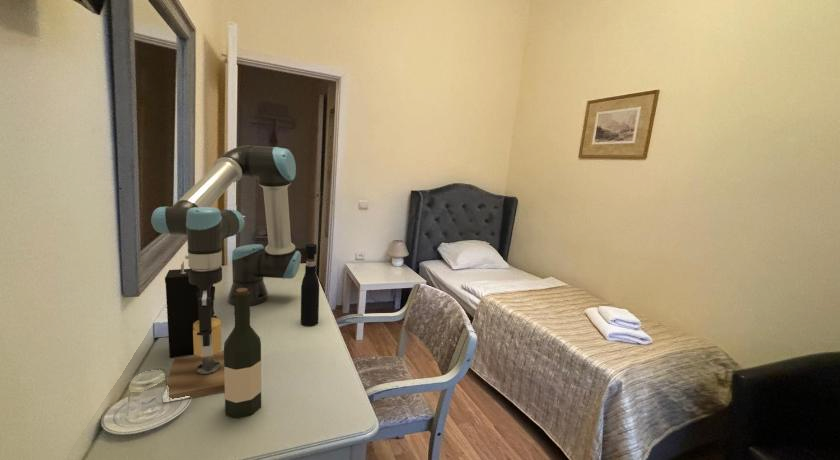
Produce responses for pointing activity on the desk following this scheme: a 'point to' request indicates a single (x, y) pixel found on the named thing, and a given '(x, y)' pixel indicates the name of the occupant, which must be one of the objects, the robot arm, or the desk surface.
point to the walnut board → (194, 377)
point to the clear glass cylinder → (208, 366)
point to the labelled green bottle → (242, 362)
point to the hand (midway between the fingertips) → (208, 349)
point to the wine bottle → (310, 289)
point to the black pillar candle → (181, 312)
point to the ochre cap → (216, 336)
